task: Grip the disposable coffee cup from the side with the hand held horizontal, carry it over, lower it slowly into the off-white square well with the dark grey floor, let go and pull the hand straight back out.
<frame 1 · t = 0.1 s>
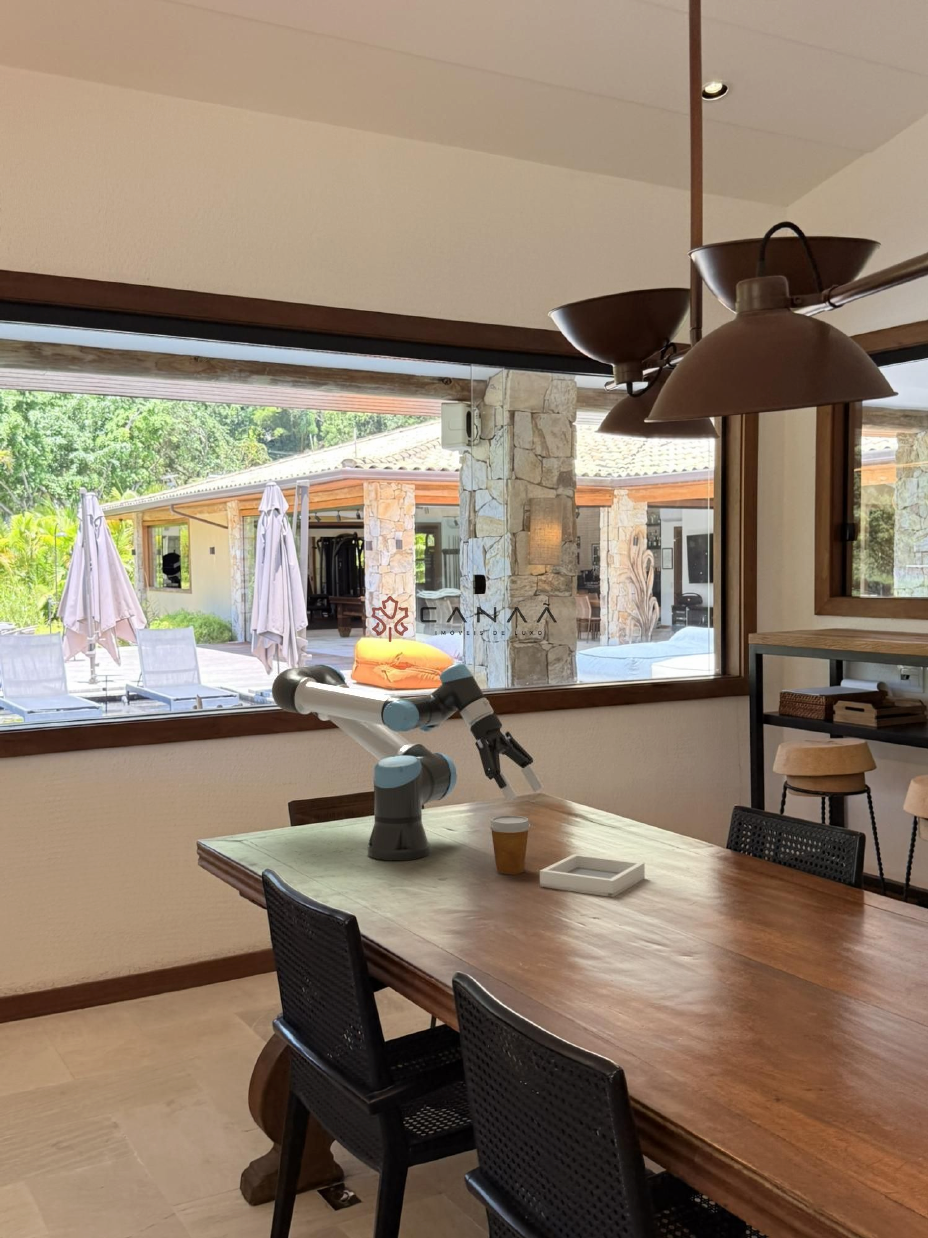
hand: (526, 794, 282), 15 cm above the table, tool tilted 35°, fingers open, 13 cm apart
disposable coffee cup: (510, 871, 268), on the table
square well: (592, 882, 257), on the table
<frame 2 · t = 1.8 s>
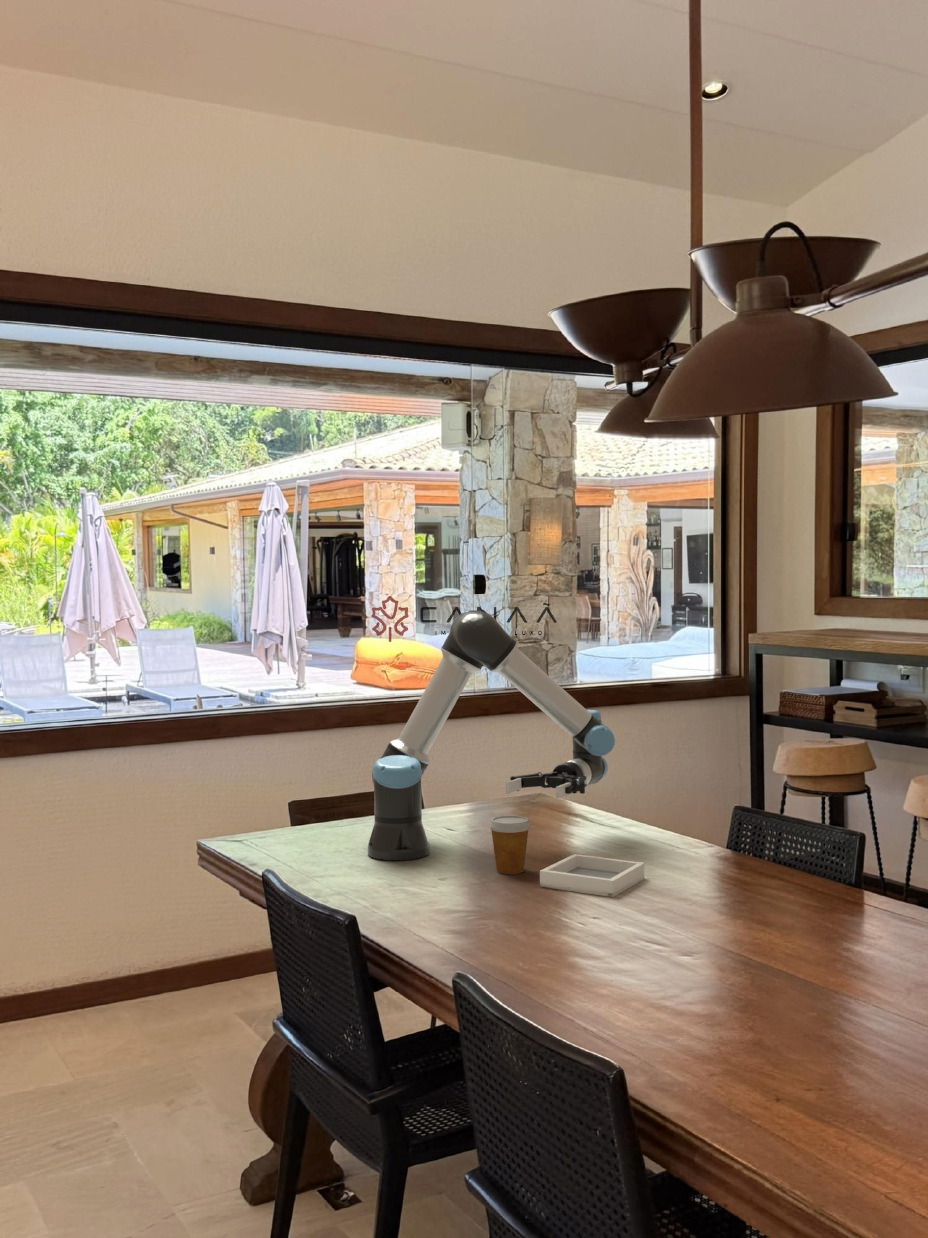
hand: (531, 790, 277), 17 cm above the table, tool horizontal, fingers open, 13 cm apart
nothing on the table moved.
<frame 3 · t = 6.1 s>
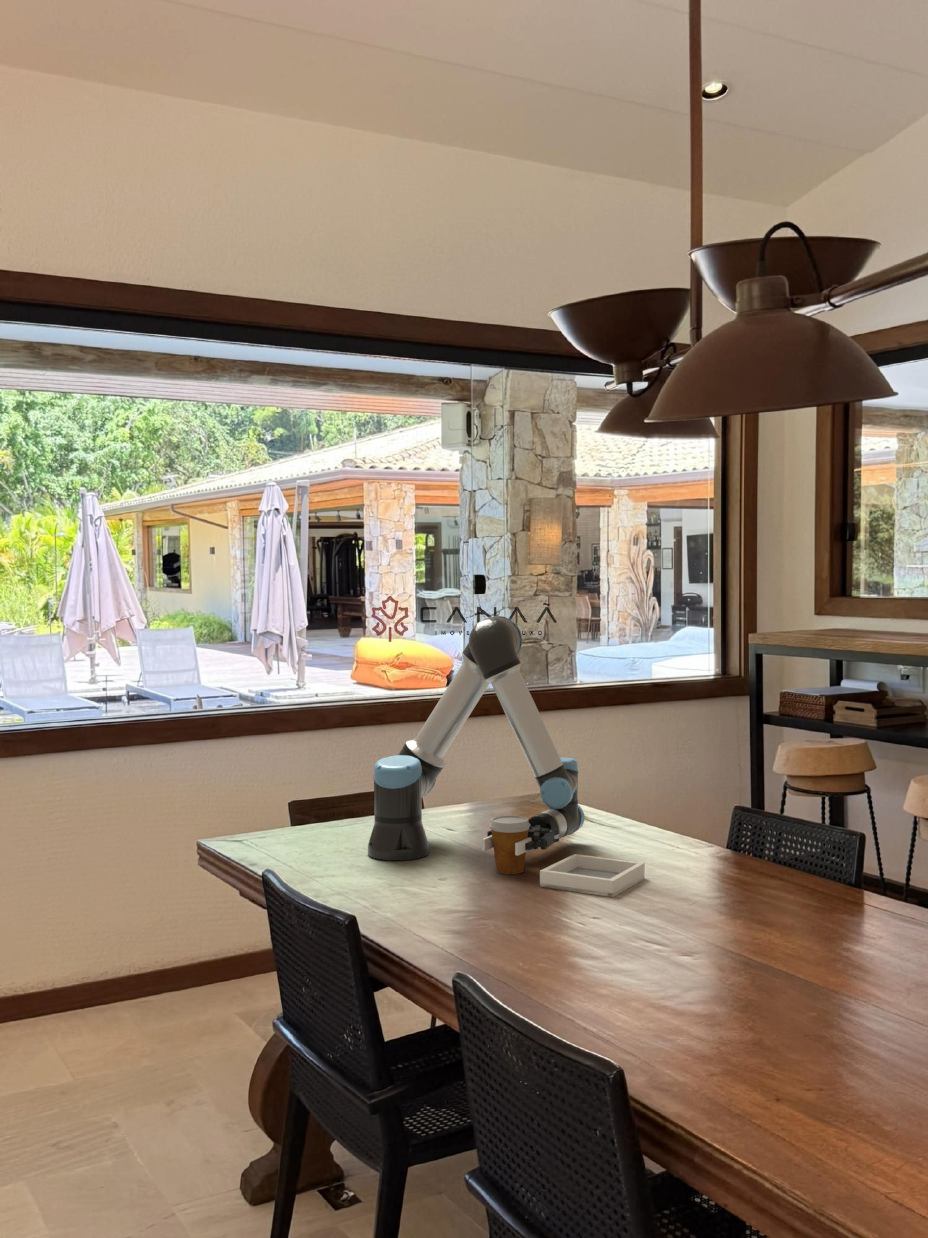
hand: (499, 847, 264), 6 cm above the table, tool horizontal, fingers closed on disposable coffee cup, 8 cm apart
disposable coffee cup: (510, 871, 268), on the table, touching gripper
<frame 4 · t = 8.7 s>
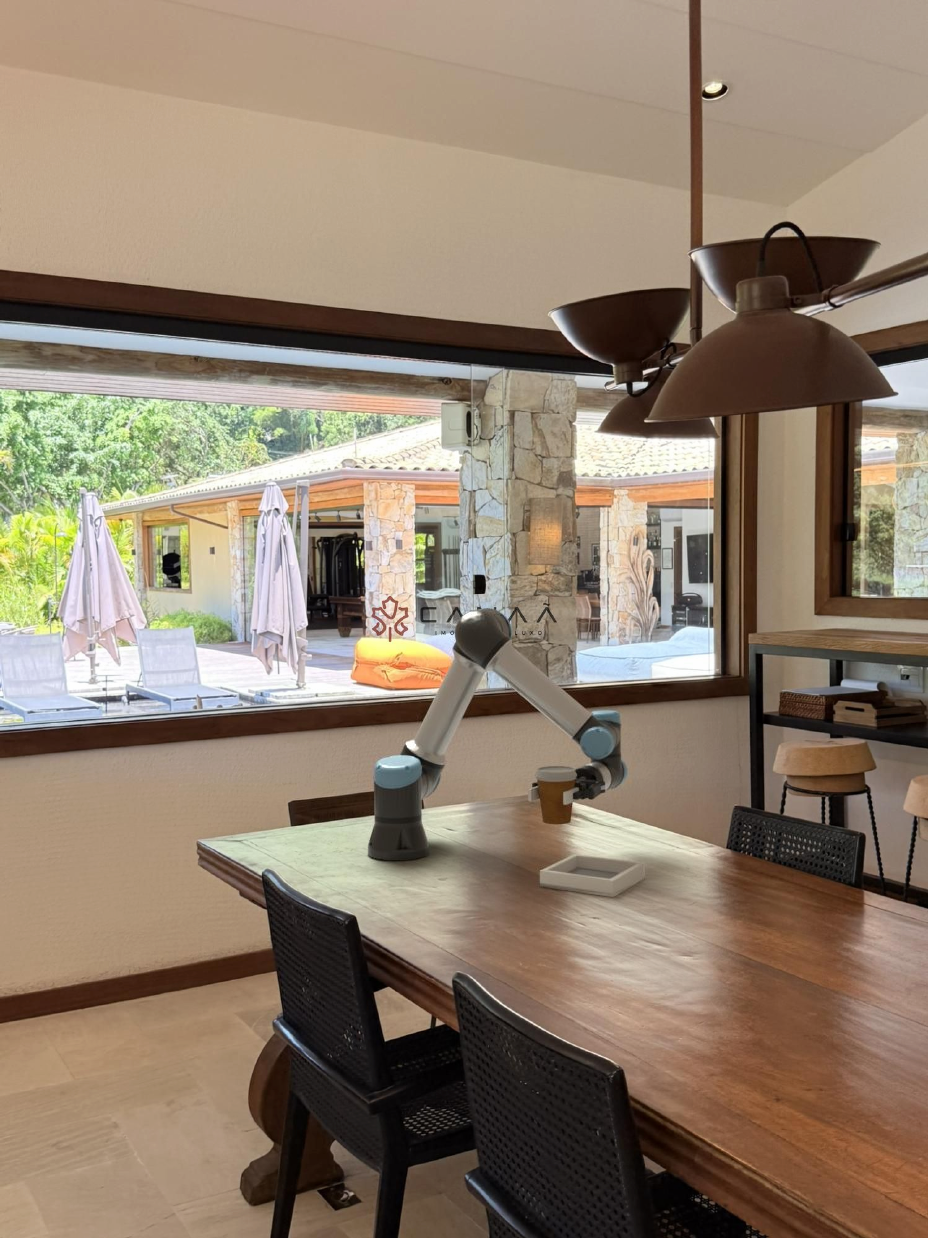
hand: (547, 797, 258), 19 cm above the table, tool horizontal, fingers closed on disposable coffee cup, 8 cm apart
disposable coffee cup: (556, 822, 263), point 12 cm above the table, touching gripper
when the fingers open (9 cm above the table, at t = 11.5 s): disposable coffee cup drops 2 cm, point 1 cm above the table.
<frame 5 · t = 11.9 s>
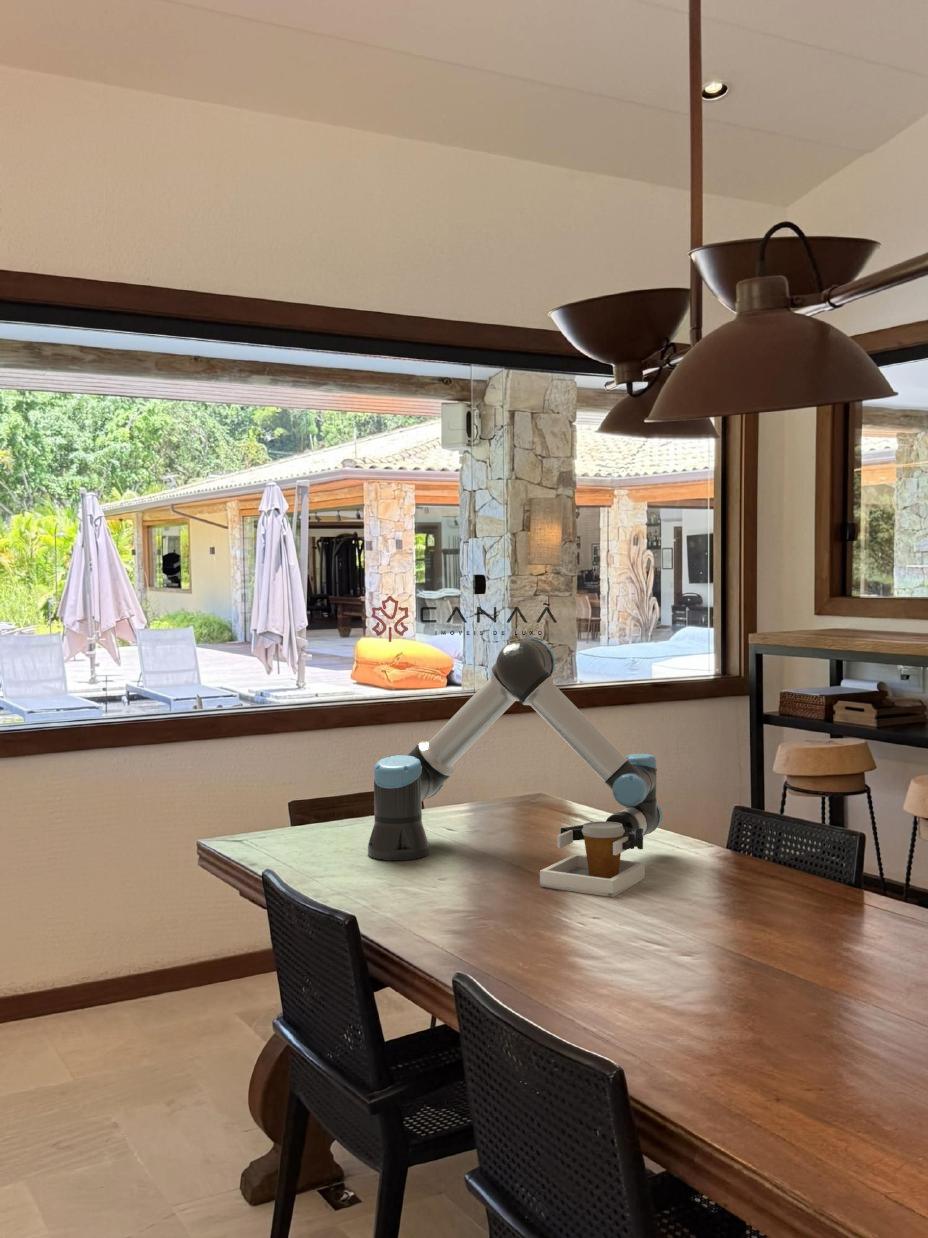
hand: (586, 845, 254), 9 cm above the table, tool horizontal, fingers open, 13 cm apart
disposable coffee cup: (603, 879, 257), point 1 cm above the table, touching gripper
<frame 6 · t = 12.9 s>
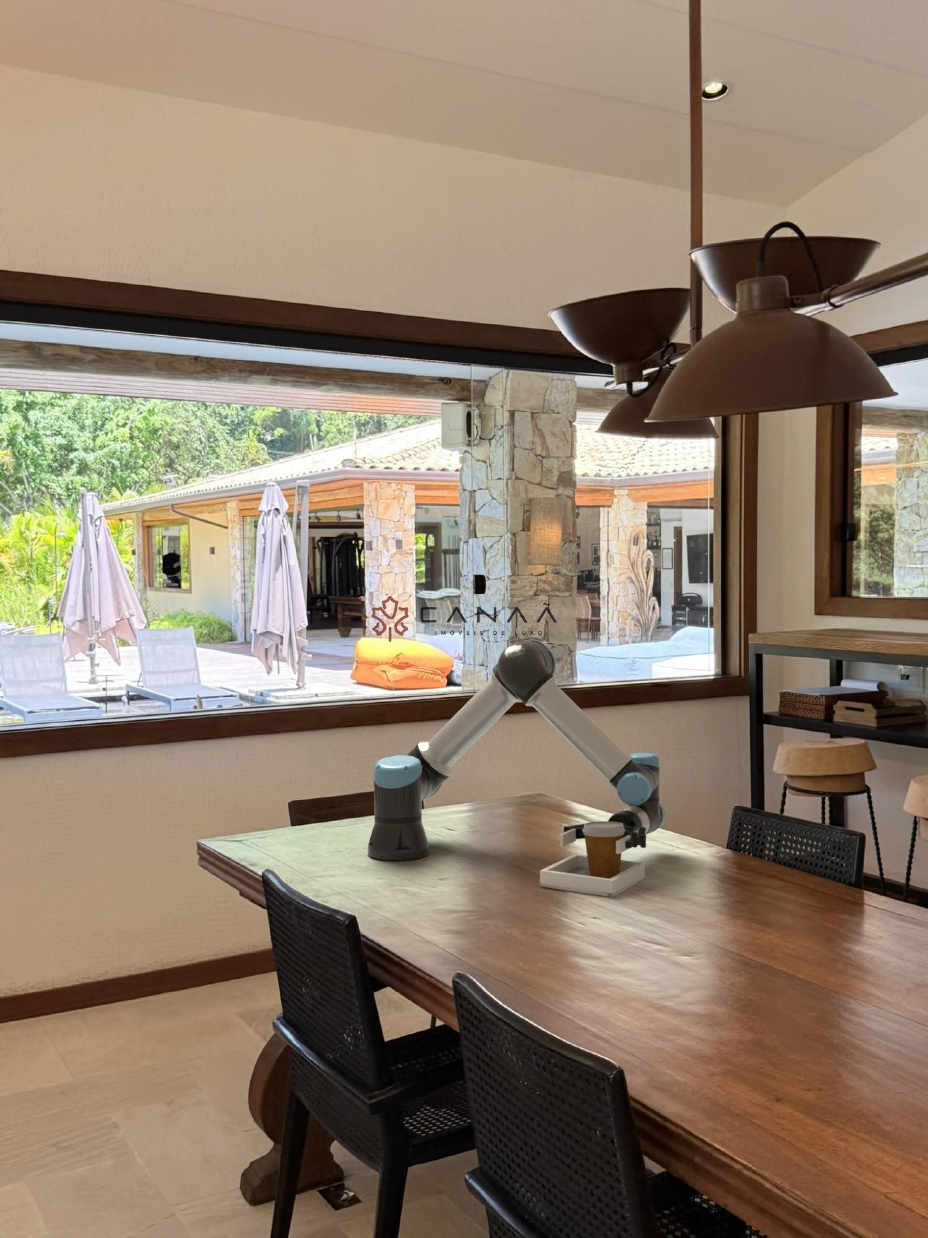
hand: (588, 844, 255), 9 cm above the table, tool horizontal, fingers open, 13 cm apart
disposable coffee cup: (604, 879, 257), point 1 cm above the table, touching gripper, square well
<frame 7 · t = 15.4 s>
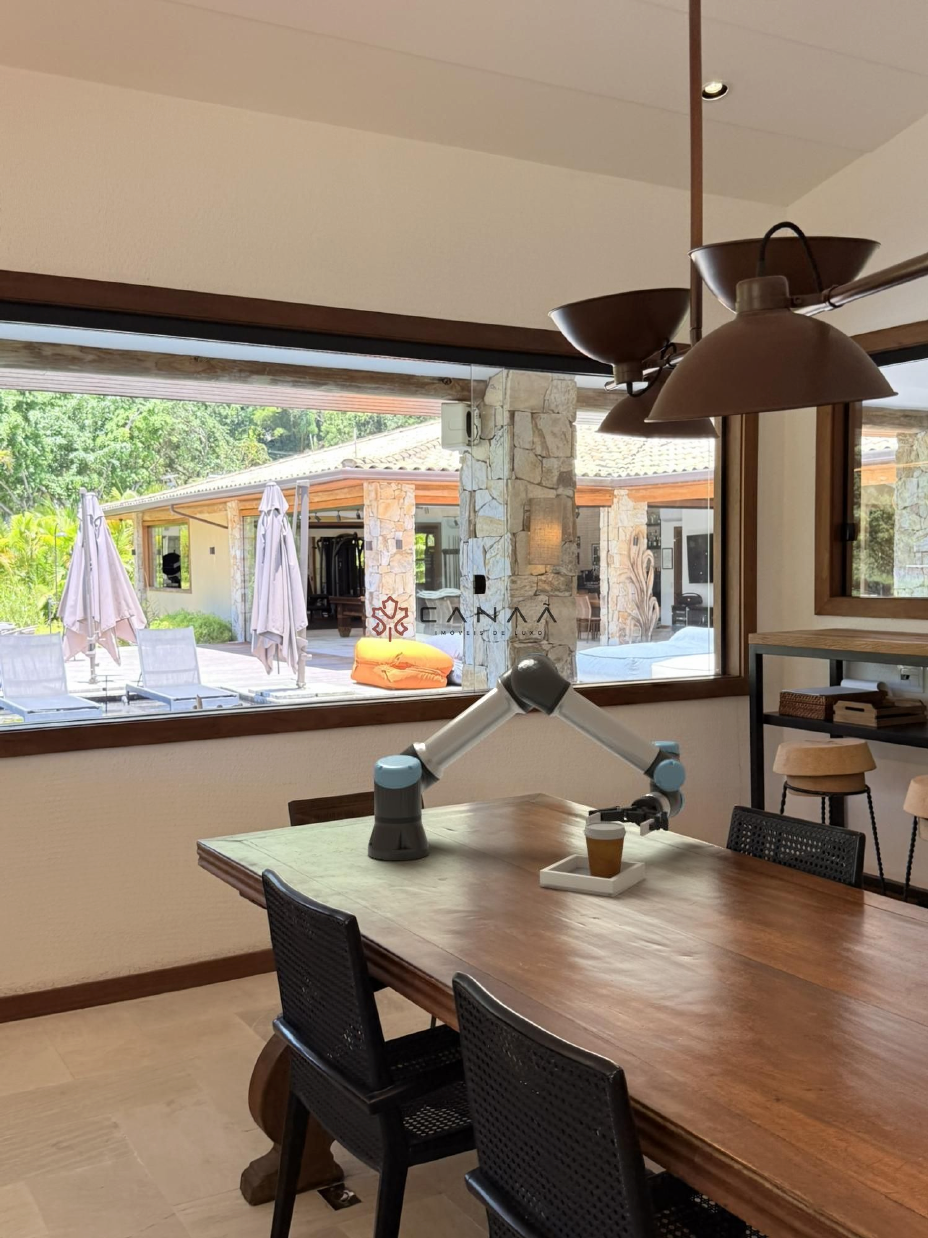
hand: (614, 826, 266), 10 cm above the table, tool horizontal, fingers open, 13 cm apart
disposable coffee cup: (605, 880, 257), point 1 cm above the table, touching square well
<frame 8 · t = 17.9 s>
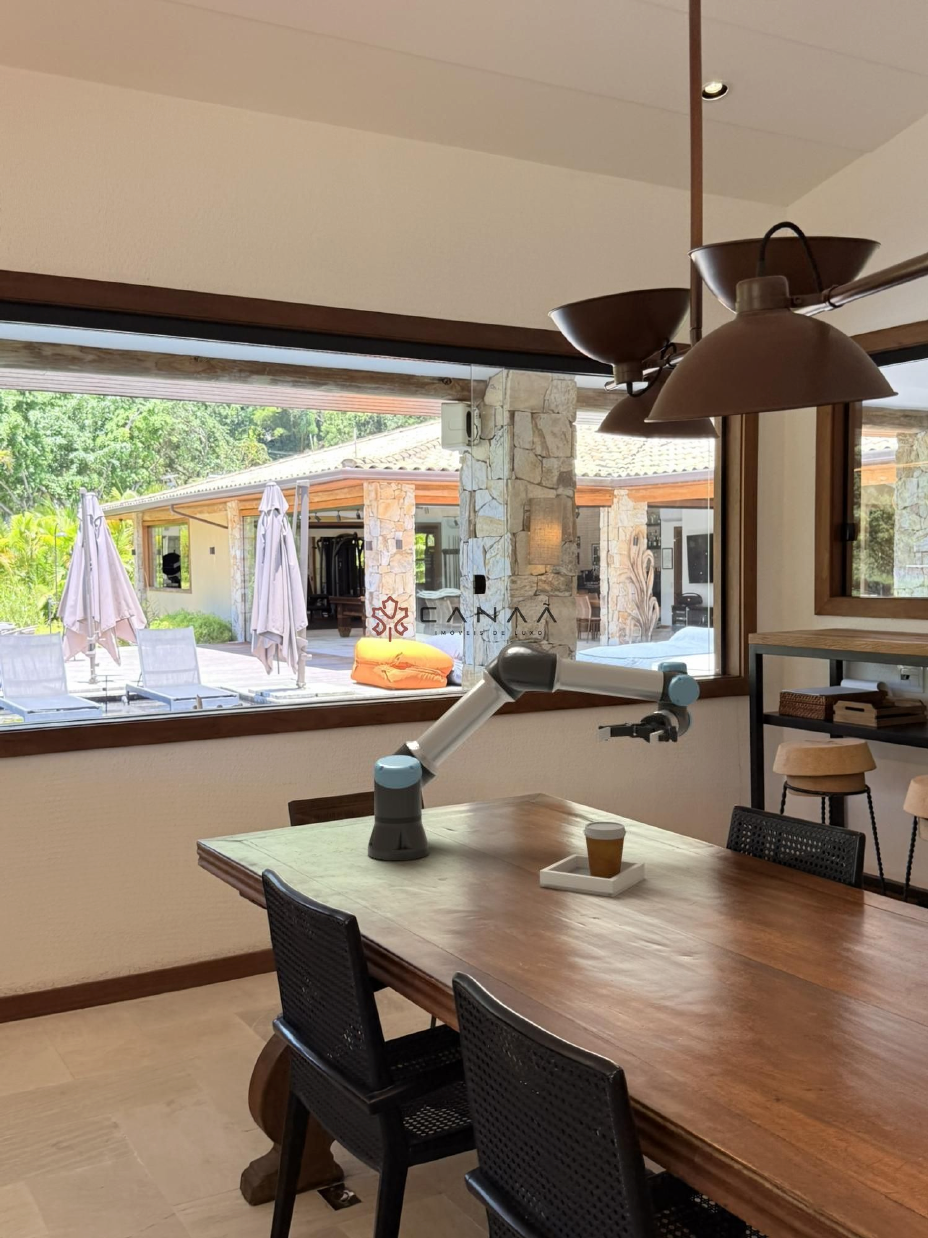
hand: (624, 738, 271), 30 cm above the table, tool horizontal, fingers open, 13 cm apart
nothing on the table moved.
at the end: disposable coffee cup inside the target area on the square well (2.7 cm from its centre), point 0.6 cm above the square well's base; disposable coffee cup tilted 0°; the gripper is holding nothing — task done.
